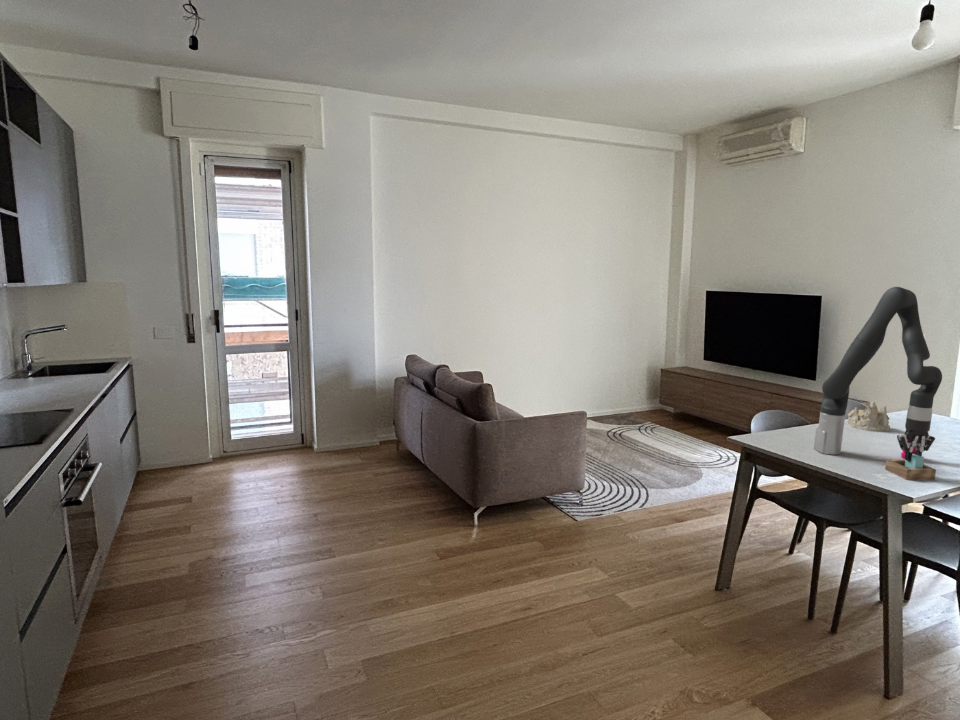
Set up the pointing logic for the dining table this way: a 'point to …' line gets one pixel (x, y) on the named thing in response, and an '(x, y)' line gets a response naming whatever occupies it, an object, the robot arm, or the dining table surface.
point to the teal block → (915, 462)
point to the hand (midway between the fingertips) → (912, 460)
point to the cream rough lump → (869, 418)
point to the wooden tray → (910, 471)
